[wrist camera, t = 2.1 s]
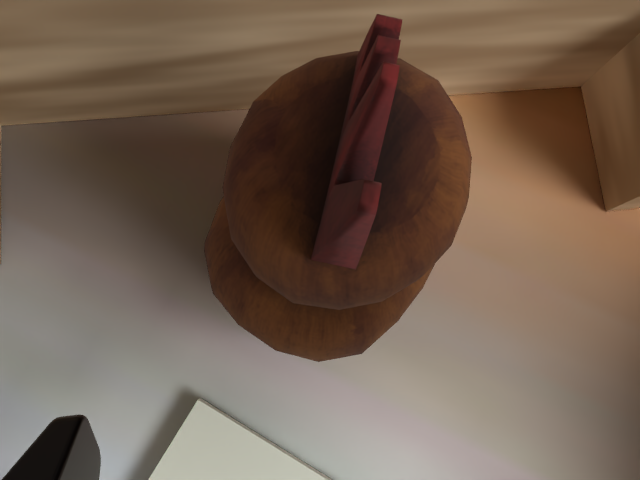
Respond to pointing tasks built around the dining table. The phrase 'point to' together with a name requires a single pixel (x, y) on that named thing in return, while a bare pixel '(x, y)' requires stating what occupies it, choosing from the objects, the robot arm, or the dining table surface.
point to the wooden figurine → (338, 200)
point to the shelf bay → (313, 42)
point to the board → (226, 452)
